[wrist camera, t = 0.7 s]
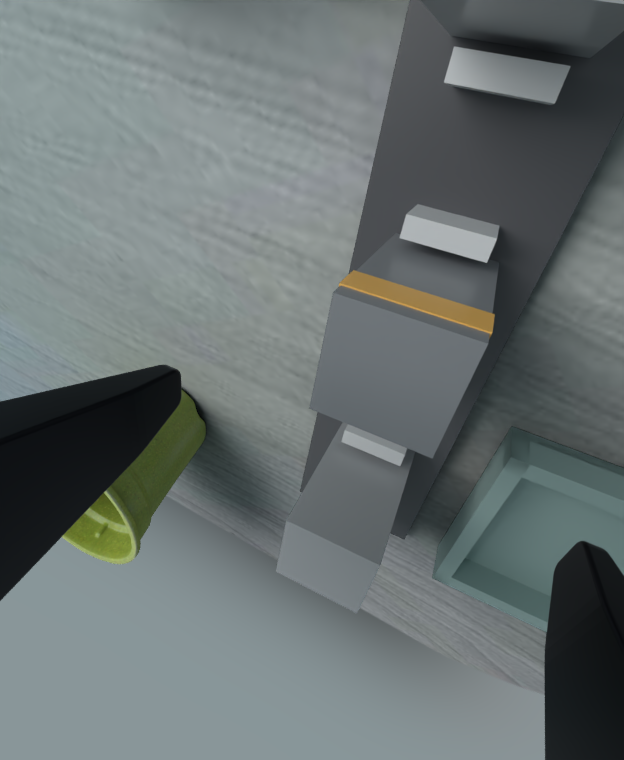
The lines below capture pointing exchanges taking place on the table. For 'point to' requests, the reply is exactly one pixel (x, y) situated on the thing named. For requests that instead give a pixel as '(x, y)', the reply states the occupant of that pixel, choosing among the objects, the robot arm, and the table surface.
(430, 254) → the block
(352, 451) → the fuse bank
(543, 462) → the tray
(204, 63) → the table surface
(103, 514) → the plant pot
